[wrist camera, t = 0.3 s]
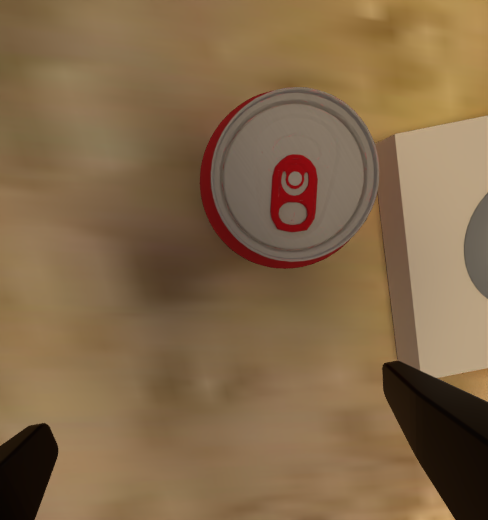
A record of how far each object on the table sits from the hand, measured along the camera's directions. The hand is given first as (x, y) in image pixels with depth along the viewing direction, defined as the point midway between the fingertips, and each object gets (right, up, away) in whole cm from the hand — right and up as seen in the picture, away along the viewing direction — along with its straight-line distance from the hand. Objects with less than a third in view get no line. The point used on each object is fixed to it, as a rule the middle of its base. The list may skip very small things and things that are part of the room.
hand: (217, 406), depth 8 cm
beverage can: (+2, +8, +13) cm, 16 cm away
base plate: (+19, +6, +14) cm, 24 cm away
